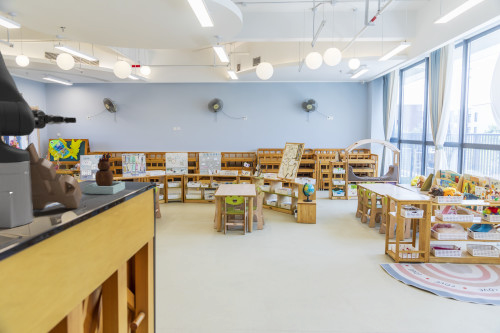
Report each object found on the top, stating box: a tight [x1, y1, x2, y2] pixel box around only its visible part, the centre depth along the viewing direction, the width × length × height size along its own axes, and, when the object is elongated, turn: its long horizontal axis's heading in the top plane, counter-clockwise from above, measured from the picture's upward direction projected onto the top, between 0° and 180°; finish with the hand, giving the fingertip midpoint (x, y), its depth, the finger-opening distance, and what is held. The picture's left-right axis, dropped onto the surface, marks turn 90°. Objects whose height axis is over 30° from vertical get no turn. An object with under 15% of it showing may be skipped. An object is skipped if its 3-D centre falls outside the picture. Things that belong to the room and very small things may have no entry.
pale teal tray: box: [83, 181, 126, 195], centre depth 134 cm, size 12×12×3 cm
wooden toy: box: [24, 142, 83, 210], centre depth 97 cm, size 16×7×25 cm
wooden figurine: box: [94, 151, 114, 186], centre depth 133 cm, size 7×6×15 cm
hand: (69, 119), depth 127 cm, fingers open, 8 cm apart
